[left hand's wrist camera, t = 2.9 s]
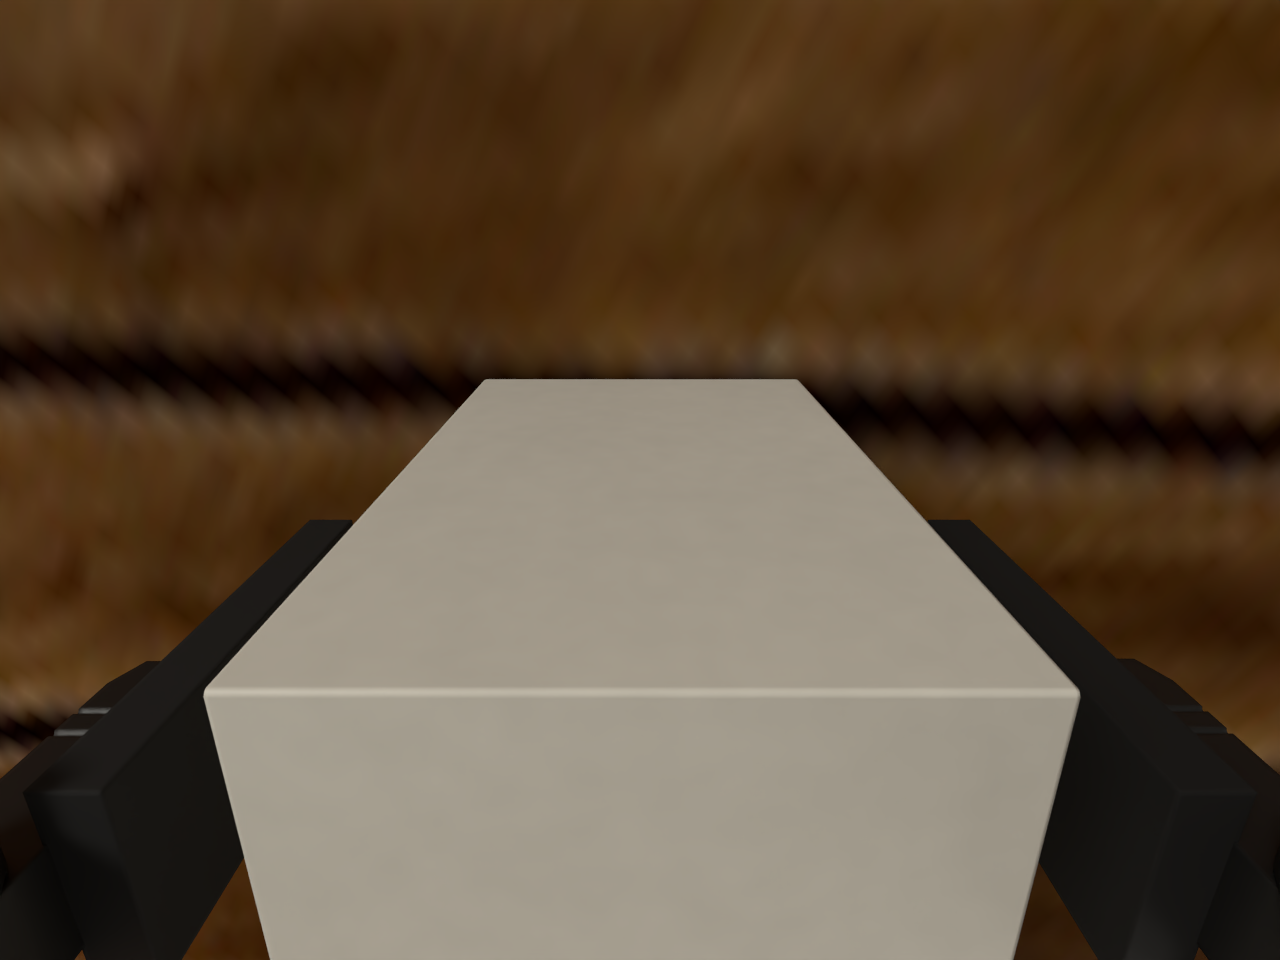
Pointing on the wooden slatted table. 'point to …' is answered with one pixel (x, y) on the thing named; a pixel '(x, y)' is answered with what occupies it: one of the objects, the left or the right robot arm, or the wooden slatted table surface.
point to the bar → (641, 701)
